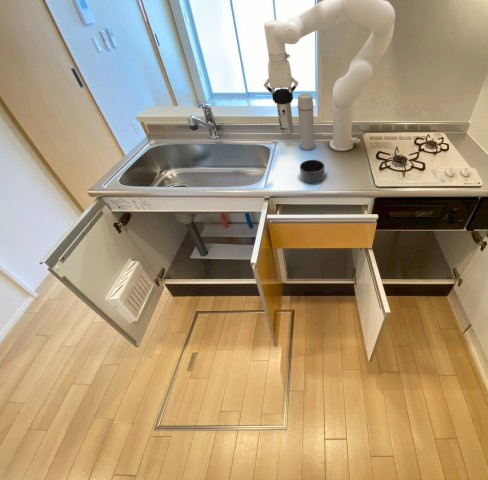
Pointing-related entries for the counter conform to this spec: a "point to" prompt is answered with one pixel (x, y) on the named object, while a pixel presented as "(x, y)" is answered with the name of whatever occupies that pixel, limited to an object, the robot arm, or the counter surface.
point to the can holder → (312, 171)
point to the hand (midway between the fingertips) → (283, 101)
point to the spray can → (284, 111)
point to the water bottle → (306, 121)
